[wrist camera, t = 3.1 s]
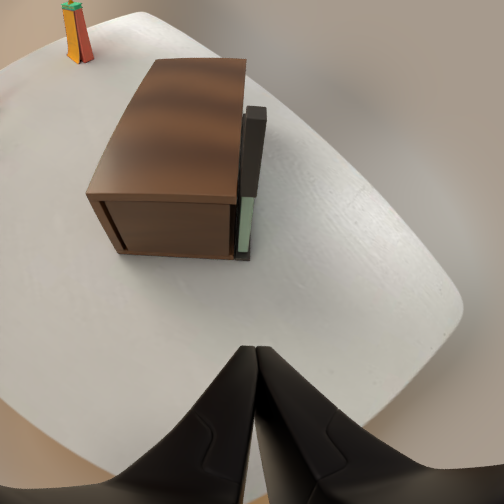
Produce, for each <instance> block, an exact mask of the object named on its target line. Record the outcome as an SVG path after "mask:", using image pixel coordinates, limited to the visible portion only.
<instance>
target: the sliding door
mask: <svg viewBox="0 0 504 504" xmlns="http://www.w3.org/2000/svg"><path fill="white" fill-rule="evenodd" d="M266 122H267V111H266V107H259V106H247V107H246V119H245V132H244V145H243V159H242V174H241V190H240V215H239V237H238V252H248V246H249V238H250V230H251V222H252V214H253V206H254V198H256V196H257V189H258V181H259V174H260V167H261V159H262V152H263V144H264V137H265V130H266Z"/></svg>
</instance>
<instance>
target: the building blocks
mask: <svg viewBox="0 0 504 504" xmlns="http://www.w3.org/2000/svg"><path fill="white" fill-rule="evenodd" d="M81 4H82V3H77V2H73V1H72V0H69V1H68V2H66V3H63V4H61V5H62V9H63V16H64V22H65V28H66V35H67V43H68V54H67V56H68V57H70V58H71V59H72V60H73V61H75V62H76V63H77V64H79V62H80V60H82V61H83V62H84V63H86V62H88V61H90V60H92V59H94V57H93V53H92V49H91V45H90V41H89V37H88V33H87V29H86V24H85V20H84V15H83V11H82V7H81Z"/></svg>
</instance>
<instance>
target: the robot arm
mask: <svg viewBox="0 0 504 504" xmlns="http://www.w3.org/2000/svg"><path fill="white" fill-rule="evenodd" d="M254 420H255V427H256V433H257V439H258V444H259V450H260V455H261V461H262V466H263V471H264V477H265V482H266V487H267V492H268V498H269V503H270V504H504V464H501V465H494V466H485V467H475V468H462V469H434V468H430V467H426V466H424V465H421V464H419V463H417V462H415V461H413V460H412V459H410V458H408V457H407V456H405V455H403V454H401V453H400V452H398V451H397V450H395V449H393V448H392V447H390V446H389V445H387V444H386V443H384V442H382V441H381V440H379V439H378V438H376V437H375V436H373V435H372V434H370V433H369V432H368V431H366V430H365V429H363V428H362V427H361V426H359V425H358V424H357V423H356V422H354V421H353V420H352V419H351V418H349V417H348V416H347V415H346V414H345V413H343V412H342V411H341V410H340V409H338V408H337V407H336V406H335V405H334V404H333V403H332V402H331V401H329V400H328V399H327V398H326V397H325V396H324V395H323V394H322V393H320V392H319V391H318V390H317V389H316V388H315V387H314V386H313V385H312V384H310V383H309V382H308V381H307V380H306V379H305V378H304V377H303V376H302V375H301V374H299V373H298V372H297V371H296V370H295V369H294V368H293V367H292V366H291V365H290V364H289V363H288V362H286V361H285V360H284V359H283V358H282V357H281V356H280V355H279V354H278V353H277V352H276V351H275V350H274V349H273V348H271V347H270V346H257V347H256V348H255V347H254V346H240V347H239V348H238V350H237V351H236V352H235V353H234V355H233V356H232V357H231V359H230V360H229V361H228V362H227V364H226V365H225V366H224V368H223V369H222V370H221V371H220V373H219V374H218V375H217V377H216V378H215V379H214V380H213V382H212V383H211V384H210V385H209V387H208V388H207V389H206V390H205V392H204V393H203V394H202V395H201V397H200V398H199V399H198V400H197V402H196V403H195V404H194V405H193V406H192V408H191V409H190V410H189V411H188V412H187V414H186V415H185V416H184V417H183V418H182V420H181V421H180V422H179V423H178V424H177V425H176V426H175V427H174V428H173V429H172V431H170V432H169V433H168V434H167V435H166V436H165V437H164V438H163V439H162V440H161V441H160V442H158V443H157V444H156V445H155V446H154V447H153V448H151V449H150V450H149V451H148V452H147V453H145V454H144V455H143V456H142V457H140V458H139V459H138V460H137V461H136V462H134V463H133V464H132V465H131V466H129V467H128V468H127V469H126V470H124V471H123V472H122V473H120V474H119V475H117V476H115V477H114V478H112V479H110V480H108V481H105V482H102V483H98V484H91V485H83V486H73V487H62V488H46V489H17V488H10V487H5V486H1V485H0V504H243V497H244V490H245V483H246V476H247V469H248V462H249V454H250V447H251V439H252V432H253V423H254Z"/></svg>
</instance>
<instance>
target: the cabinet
mask: <svg viewBox="0 0 504 504" xmlns="http://www.w3.org/2000/svg"><path fill="white" fill-rule="evenodd" d="M245 72H246V59H233V58H175V59H157V60H155V62H154V63H153V65H152V66H151V68H150V70H149V71H148V73H147V74H146V76H145V78H144V79H143V81H142V82H141V84H140V86H139V87H138V89H137V91H136V92H135V94H134V96H133V97H132V99H131V101H130V103H129V104H128V106H127V108H126V110H125V112H124V113H123V115H122V117H121V119H120V121H119V123H118V125H117V127H116V129H115V130H114V132H113V134H112V136H111V138H110V140H109V142H108V144H107V147H106V149H105V151H104V153H103V155H102V157H101V159H100V161H99V164H98V166H97V168H96V170H95V173H94V175H93V177H92V179H91V182H90V184H89V187H88V189H87V191H86V196H87V198H88V200H89V202H90V204H91V206H92V208H93V210H94V212H95V214H96V215H97V217H98V219H99V221H100V223H101V225H102V227H103V228H104V230H105V232H106V234H107V236H108V237H109V239H110V241H111V243H112V244H113V246H114V248H115V250H116V251H117V253H118V254H134V255H151V256H170V257H188V258H207V259H227V260H233V259H234V244H235V225H236V207H237V190H238V174H239V158H240V174H239V191H238V209H237V228H236V248H235V260H243V261H250V238H249V246H248V252H238V237H239V215H240V190H241V174H242V159H243V145H244V132H245V119H246V114H243V99H244V86H245ZM242 114H243V126H242ZM241 128H242V141H241ZM240 143H241V157H240Z"/></svg>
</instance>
